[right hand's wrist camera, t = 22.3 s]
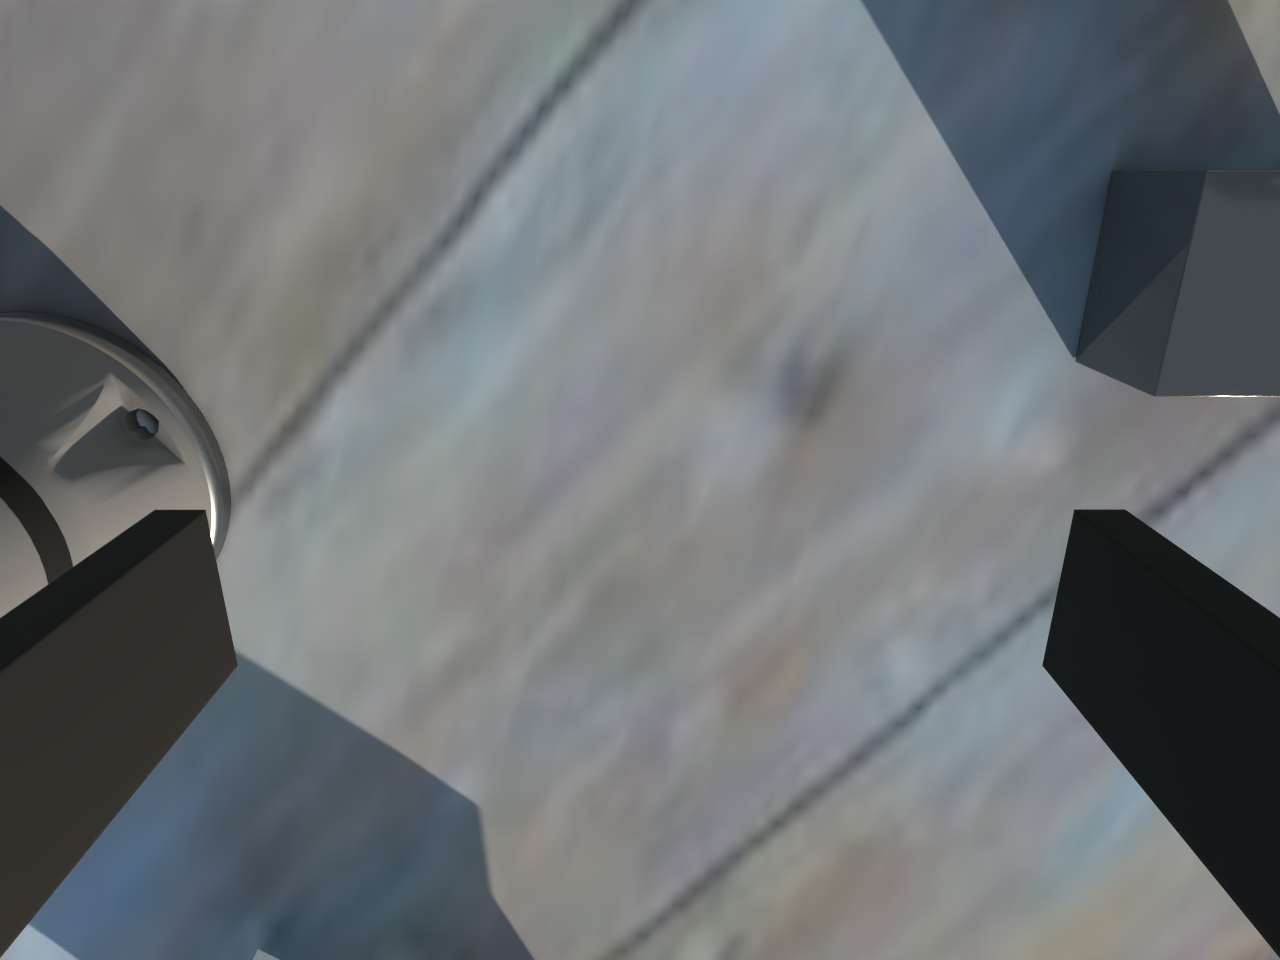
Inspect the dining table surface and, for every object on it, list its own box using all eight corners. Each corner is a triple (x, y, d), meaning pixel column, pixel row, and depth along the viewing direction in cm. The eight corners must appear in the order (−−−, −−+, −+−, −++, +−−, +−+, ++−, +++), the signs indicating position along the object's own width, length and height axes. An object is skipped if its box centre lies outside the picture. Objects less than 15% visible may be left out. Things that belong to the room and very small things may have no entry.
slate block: (1254, 362, 36) (1366, 397, 31) (1074, 362, 36) (1154, 397, 31) (1306, 170, 34) (1440, 170, 28) (1112, 169, 34) (1206, 170, 28)
